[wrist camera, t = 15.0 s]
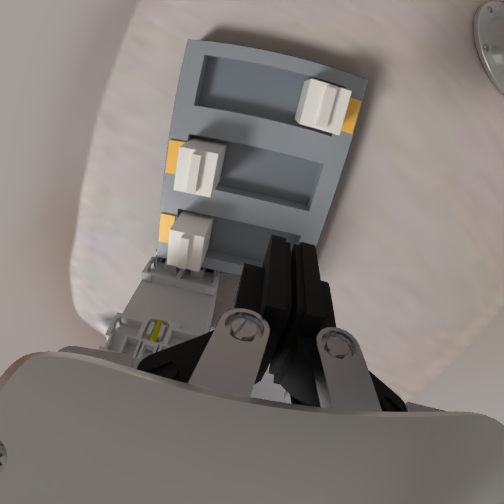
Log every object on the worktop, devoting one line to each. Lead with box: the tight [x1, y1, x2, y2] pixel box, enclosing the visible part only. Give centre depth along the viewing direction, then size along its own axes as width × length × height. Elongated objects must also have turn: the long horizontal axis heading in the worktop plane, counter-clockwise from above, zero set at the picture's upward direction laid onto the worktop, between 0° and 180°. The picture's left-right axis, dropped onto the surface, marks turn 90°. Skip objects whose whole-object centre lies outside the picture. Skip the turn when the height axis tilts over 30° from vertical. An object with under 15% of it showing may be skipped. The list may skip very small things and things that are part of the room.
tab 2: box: [167, 210, 214, 272], centre depth 27 cm, size 4×3×5 cm
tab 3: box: [295, 79, 352, 135], centre depth 20 cm, size 4×3×5 cm
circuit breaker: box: [99, 250, 220, 359], centre depth 30 cm, size 8×14×15 cm, turn 169°
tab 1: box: [173, 138, 227, 197], centre depth 24 cm, size 4×3×5 cm
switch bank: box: [157, 39, 368, 276], centre depth 26 cm, size 21×15×3 cm
